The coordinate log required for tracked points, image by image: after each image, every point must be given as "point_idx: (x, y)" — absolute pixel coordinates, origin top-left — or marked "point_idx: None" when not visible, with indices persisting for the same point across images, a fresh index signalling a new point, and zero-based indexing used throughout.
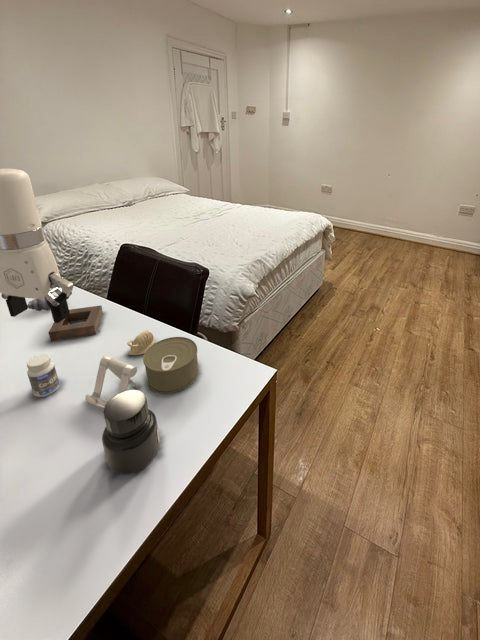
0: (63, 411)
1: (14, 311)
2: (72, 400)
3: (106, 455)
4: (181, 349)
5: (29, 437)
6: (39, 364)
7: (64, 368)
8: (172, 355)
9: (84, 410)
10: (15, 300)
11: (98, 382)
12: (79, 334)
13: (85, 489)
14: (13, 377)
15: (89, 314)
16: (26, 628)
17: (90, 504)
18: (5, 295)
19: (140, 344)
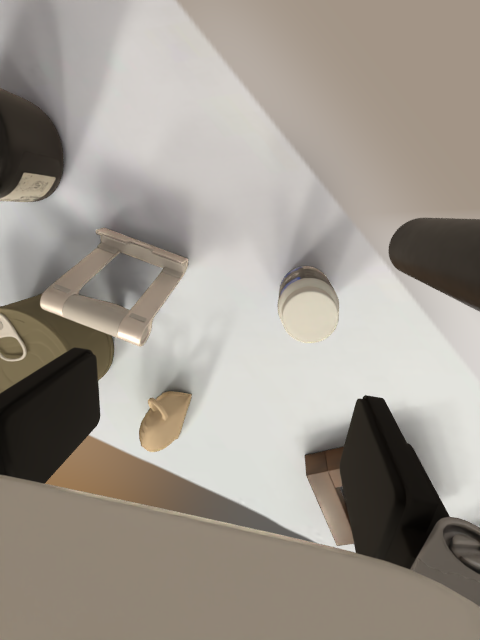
0: (224, 233)
1: (363, 423)
2: (226, 263)
3: (4, 91)
4: (10, 382)
5: (248, 160)
6: (292, 300)
7: (307, 351)
8: (9, 360)
9: (182, 239)
10: (377, 508)
11: (161, 290)
12: (339, 452)
13: (56, 60)
14: (412, 320)
15: (345, 514)
16: None
17: (26, 31)
18: (457, 561)
19: (150, 411)
